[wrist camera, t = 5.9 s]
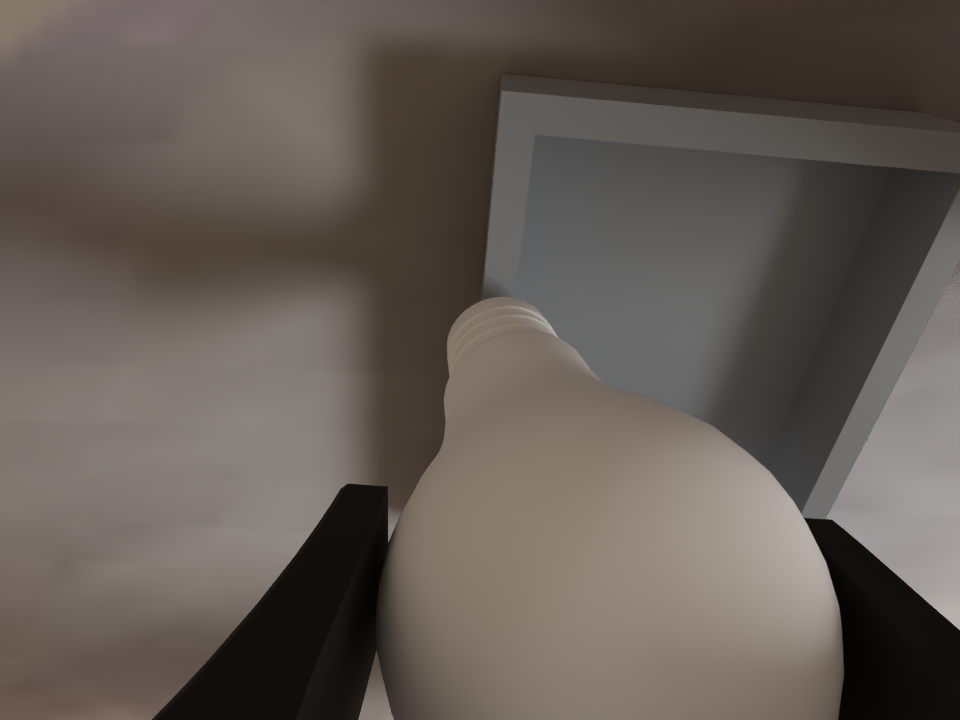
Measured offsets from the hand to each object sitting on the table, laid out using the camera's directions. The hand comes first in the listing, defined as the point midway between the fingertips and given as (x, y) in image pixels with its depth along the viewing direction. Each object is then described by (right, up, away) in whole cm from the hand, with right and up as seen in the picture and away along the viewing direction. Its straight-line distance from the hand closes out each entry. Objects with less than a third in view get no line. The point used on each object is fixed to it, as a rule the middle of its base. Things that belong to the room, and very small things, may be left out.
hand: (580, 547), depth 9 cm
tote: (+4, +3, +10) cm, 11 cm away
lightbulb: (-1, +4, +6) cm, 7 cm away
